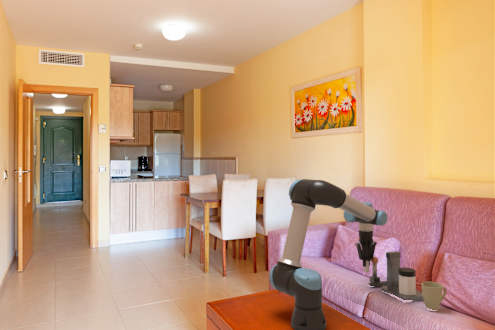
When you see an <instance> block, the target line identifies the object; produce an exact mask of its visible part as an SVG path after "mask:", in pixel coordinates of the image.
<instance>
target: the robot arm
mask: <svg viewBox="0 0 495 330" xmlns="http://www.w3.org/2000/svg"><path fill="white" fill-rule="evenodd" d="M288 196H289V200H290V201H291V203H290V205H291V207H292V213H291V217H290V220H289V226H288V231H287V234H286V238H285V243H284V246H283V247H284V248H283V251H282V256H281V258H279V259H278V260H277V263H276V264H274V265H273V267H271V269H270V271H269V277H268V278H269V283H270V286H271V287H272V288H274V289H275V290H276V291H278V292H280V293H283V294H285V295H288V296H290V297H292V298H294V308H293V311H292V315H291V319H290V326H291V327H292V329H294V330H326V329H327V319H326V317H325V314H324V311H323V281H322V275H321V274H320V273H319V272H318V271H317V270H314V269H311V268H307V267H303V265H302V263H301V260H302V254H303V250H304V246H305V240H306V236H307V232H308V227H309V223H310V218H311V213H312V212H313V211H315V209H316V206H326V207H331V208H333V209H339V210H342V211H343V218H344V220H345V222H347V223H352V224H353V223H358V237H359V239H358V242H355V243H354V244H355V245H354V246H355V247H356V250H357V255H358V258H359V260H361V261H362V267H363V273H366V274H369V273H370V266H371V259H373V257H375V255H374V254H375V250H376V246H377V244H378V242H377V241H375V240H374V239H373V237H374V231H373V230H374V226H385V225H386V224H387V222H388V217H389V216H388V214H387V212H386V211H385V210H378V209H375V208H373V203H372V202H368V201H367V202H365V201H364V202H363V201H360V200H358V199H357V198H355V197H353V196H351V195H349V194H347V192H346V191H345V190H344V189H342V188H340V187H339V186H337V185H335V184H333V183H331V182H328V181H326V180H323V179H322V180H321V179H309V178H308V179H307V178H302V179H296V180H295V181H293V182H292V183H291V185H290V186H289V190H288Z"/></svg>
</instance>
